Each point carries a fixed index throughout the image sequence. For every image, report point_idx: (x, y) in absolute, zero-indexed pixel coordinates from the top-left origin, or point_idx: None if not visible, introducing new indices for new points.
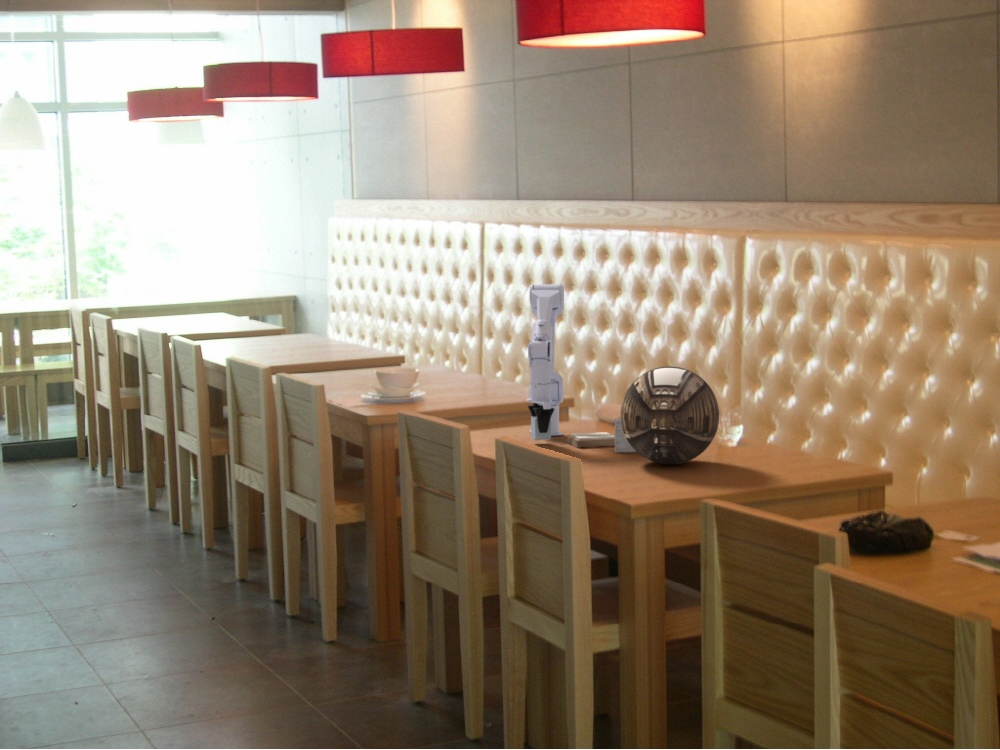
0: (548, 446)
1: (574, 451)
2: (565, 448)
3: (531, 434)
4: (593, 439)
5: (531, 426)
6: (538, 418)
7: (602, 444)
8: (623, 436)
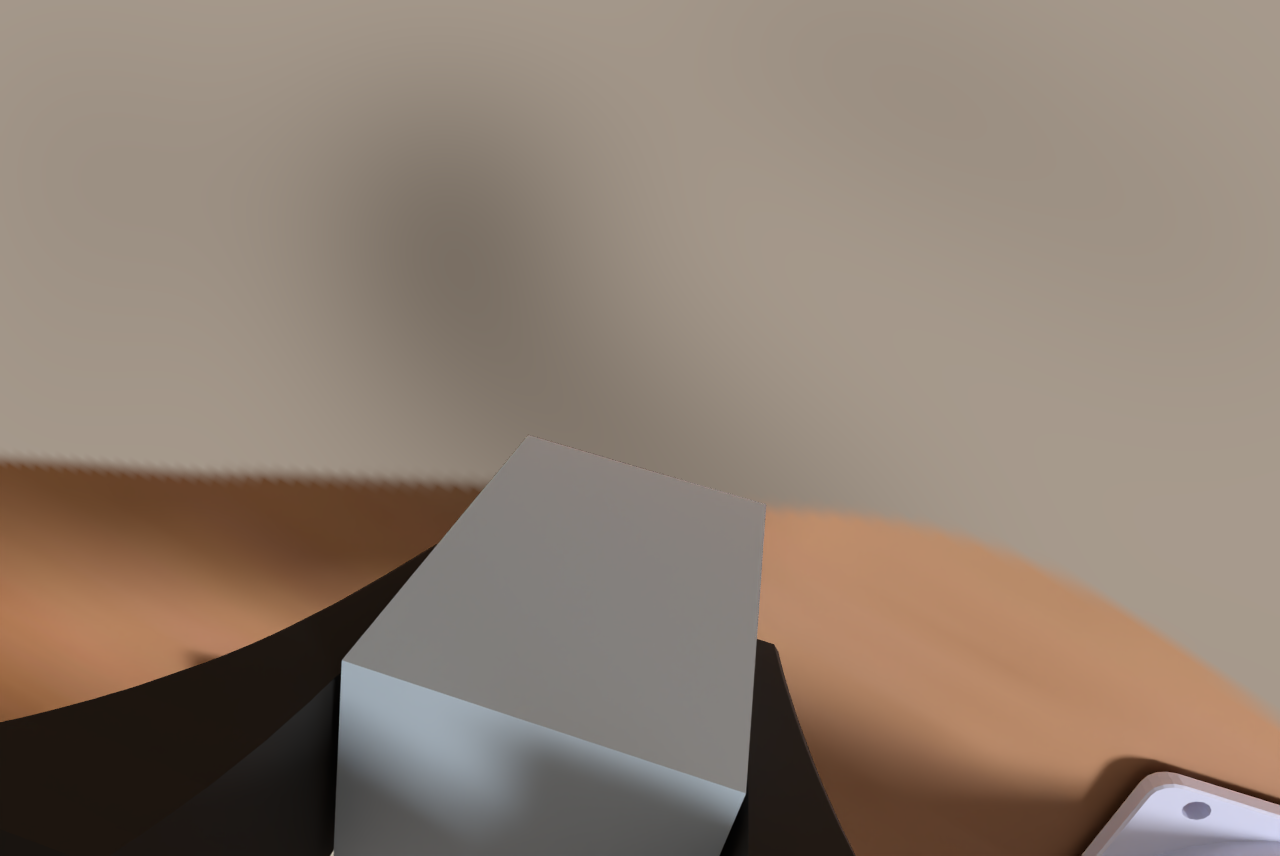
0: (457, 509)
1: (99, 549)
2: (278, 576)
3: (746, 526)
4: None
5: (728, 610)
6: (184, 670)
7: None
8: None
